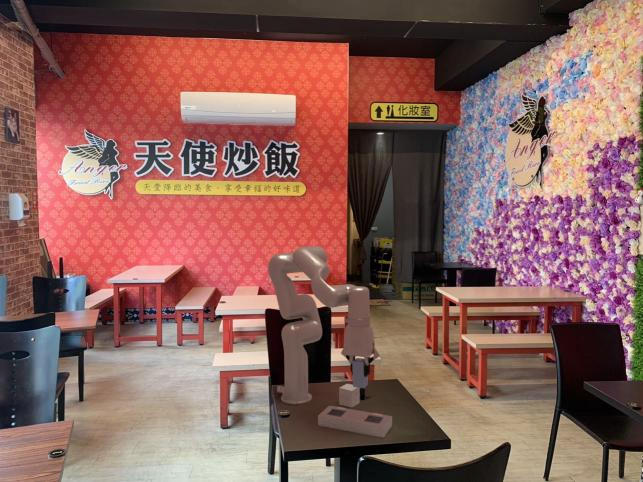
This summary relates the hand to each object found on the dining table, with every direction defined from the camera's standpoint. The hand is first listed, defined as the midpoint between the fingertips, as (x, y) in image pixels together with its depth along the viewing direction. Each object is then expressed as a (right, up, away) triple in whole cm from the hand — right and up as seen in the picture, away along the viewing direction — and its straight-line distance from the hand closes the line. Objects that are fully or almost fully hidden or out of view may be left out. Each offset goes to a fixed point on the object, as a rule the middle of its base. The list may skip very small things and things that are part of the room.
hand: (360, 374), depth 163 cm
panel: (-2, -19, +2) cm, 19 cm away
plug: (0, -4, 0) cm, 4 cm away
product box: (-2, -19, +22) cm, 29 cm away
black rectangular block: (+2, -19, +32) cm, 37 cm away
